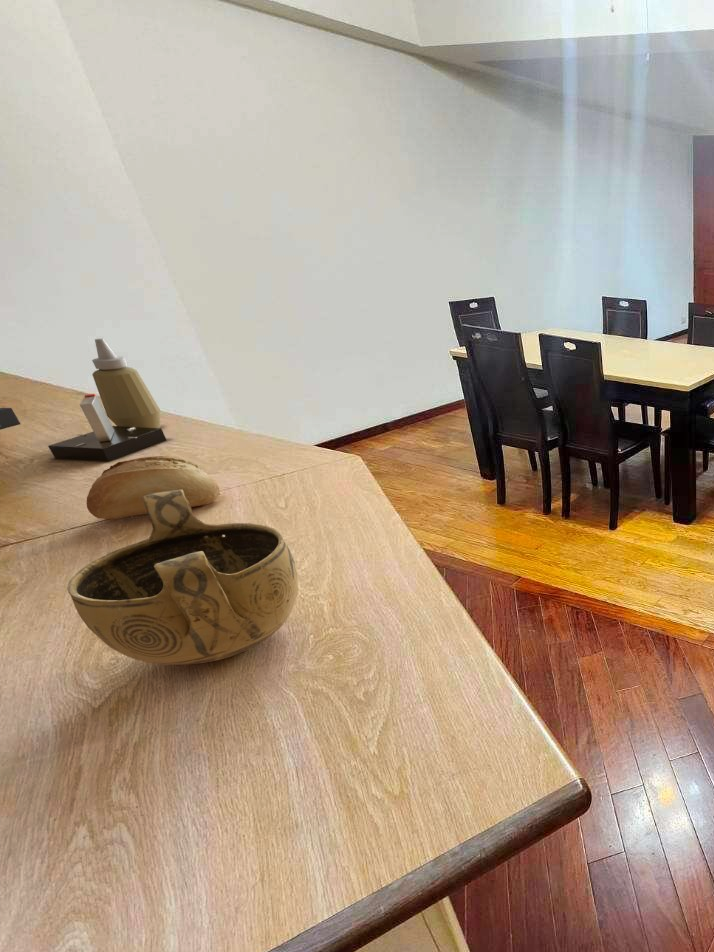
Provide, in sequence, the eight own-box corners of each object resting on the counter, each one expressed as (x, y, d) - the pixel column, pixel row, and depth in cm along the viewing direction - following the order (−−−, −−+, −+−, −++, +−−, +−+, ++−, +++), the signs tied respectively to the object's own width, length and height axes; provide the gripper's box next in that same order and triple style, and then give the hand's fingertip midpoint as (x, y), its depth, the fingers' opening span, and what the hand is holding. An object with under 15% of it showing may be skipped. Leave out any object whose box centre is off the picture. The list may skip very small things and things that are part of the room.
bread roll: (97, 511, 90) (69, 462, 86) (220, 488, 99) (200, 442, 95) (95, 534, 84) (65, 482, 80) (226, 507, 93) (206, 460, 89)
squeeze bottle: (158, 421, 127) (118, 334, 118) (174, 428, 123) (134, 339, 114) (108, 430, 121) (62, 339, 112) (124, 438, 117) (78, 344, 108)
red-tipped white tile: (110, 440, 109) (91, 402, 105) (98, 442, 108) (78, 403, 105) (114, 430, 114) (95, 393, 110) (103, 432, 113) (84, 394, 109)
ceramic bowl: (340, 659, 63) (293, 536, 56) (124, 740, 53) (31, 602, 45) (294, 576, 77) (251, 468, 69) (116, 626, 66) (44, 506, 59)
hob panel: (112, 461, 107) (105, 447, 106) (51, 458, 107) (43, 444, 106) (169, 440, 117) (164, 427, 116) (114, 437, 117) (108, 424, 116)
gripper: (-219, 491, 78) (-14, 436, 98) (-123, 496, 78) (62, 439, 98) (-264, 437, 74) (-42, 391, 95) (-163, 441, 74) (38, 394, 95)
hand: (11, 415), depth 96 cm, fingers closed
